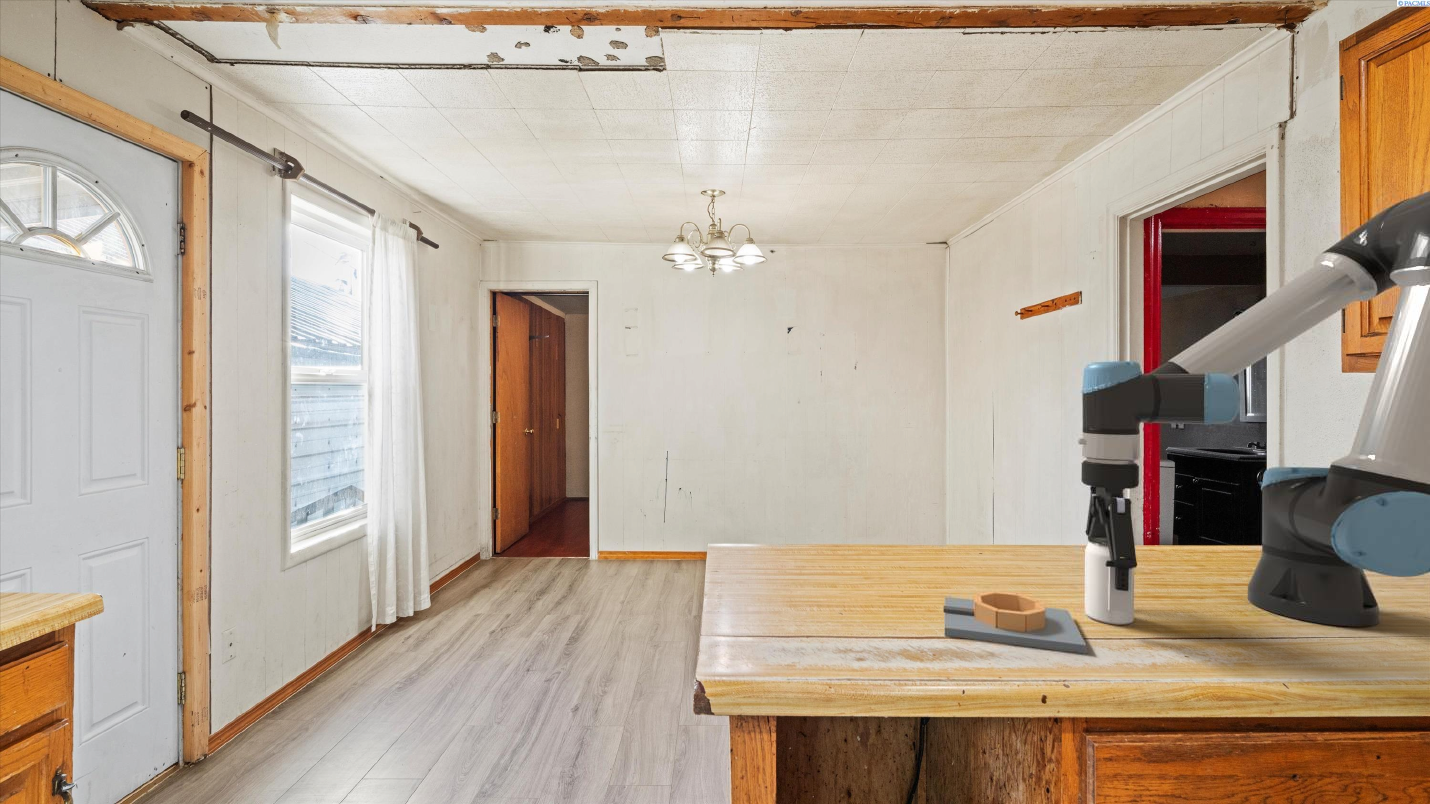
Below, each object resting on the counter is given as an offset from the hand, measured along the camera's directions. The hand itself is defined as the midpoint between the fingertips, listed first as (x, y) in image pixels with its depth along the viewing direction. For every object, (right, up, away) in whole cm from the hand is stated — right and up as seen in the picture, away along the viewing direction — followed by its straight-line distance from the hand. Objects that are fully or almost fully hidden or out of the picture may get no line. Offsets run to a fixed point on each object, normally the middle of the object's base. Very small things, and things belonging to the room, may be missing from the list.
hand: (1108, 596), depth 95 cm
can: (0, -4, 0) cm, 4 cm away
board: (-17, -4, -3) cm, 18 cm away
